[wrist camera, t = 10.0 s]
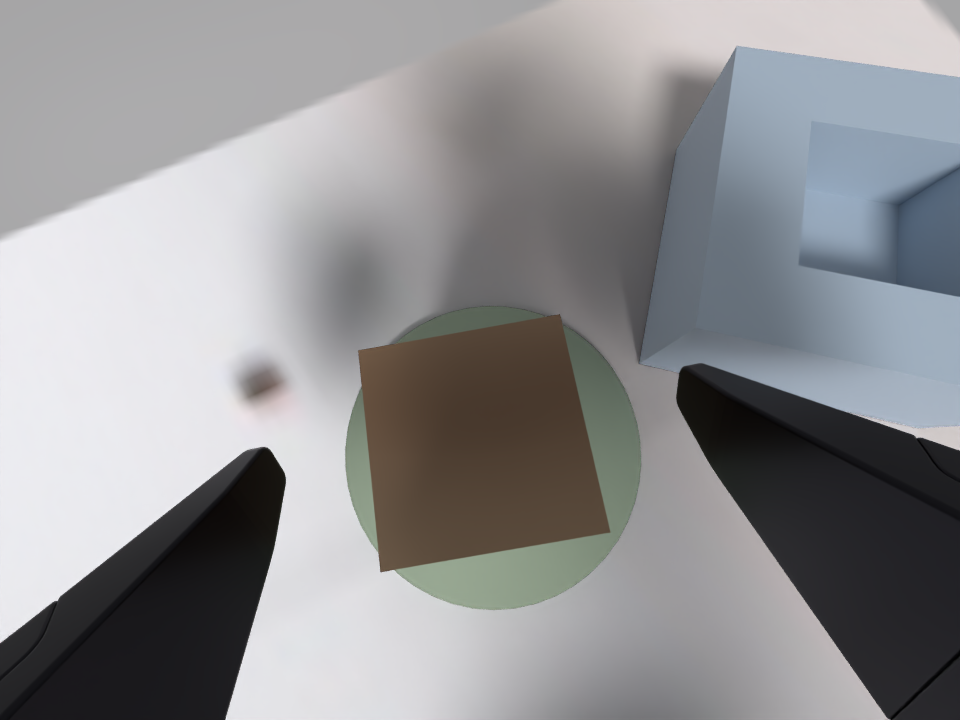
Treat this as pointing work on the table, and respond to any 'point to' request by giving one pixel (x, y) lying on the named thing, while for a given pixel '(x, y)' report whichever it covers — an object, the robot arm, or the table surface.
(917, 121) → the slate-blue holder
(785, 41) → the table surface
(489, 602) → the sage-green mat
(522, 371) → the walnut peg
